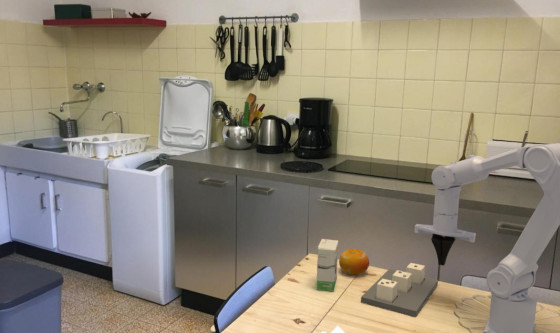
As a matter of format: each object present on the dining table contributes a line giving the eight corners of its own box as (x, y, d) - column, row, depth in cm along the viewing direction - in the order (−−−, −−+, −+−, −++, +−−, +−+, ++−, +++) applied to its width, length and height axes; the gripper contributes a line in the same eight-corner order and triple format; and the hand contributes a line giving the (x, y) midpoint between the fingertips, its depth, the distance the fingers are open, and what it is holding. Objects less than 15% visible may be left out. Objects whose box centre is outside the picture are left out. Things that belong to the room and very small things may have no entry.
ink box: (334, 292, 126) (335, 249, 124) (315, 290, 127) (317, 248, 125) (337, 279, 134) (338, 239, 132) (319, 277, 135) (321, 238, 133)
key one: (423, 282, 132) (425, 265, 131) (419, 287, 129) (421, 269, 128) (409, 279, 134) (410, 262, 133) (405, 284, 131) (406, 266, 130)
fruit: (329, 260, 139) (346, 240, 137) (343, 263, 146) (360, 243, 144) (347, 281, 134) (365, 260, 132) (361, 283, 140) (378, 263, 139)
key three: (396, 300, 121) (397, 281, 120) (391, 306, 118) (392, 287, 117) (381, 296, 123) (382, 277, 122) (376, 302, 120) (377, 283, 119)
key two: (410, 291, 127) (412, 272, 126) (406, 296, 123) (407, 278, 123) (396, 287, 129) (397, 269, 128) (391, 293, 125) (392, 274, 125)
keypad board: (437, 284, 132) (438, 279, 132) (415, 317, 113) (416, 311, 113) (388, 273, 139) (389, 268, 139) (360, 302, 120) (361, 296, 120)
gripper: (479, 213, 119) (474, 264, 121) (420, 205, 126) (417, 253, 128) (474, 219, 113) (469, 273, 115) (413, 210, 120) (410, 261, 122)
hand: (441, 263), depth 121 cm, fingers closed
